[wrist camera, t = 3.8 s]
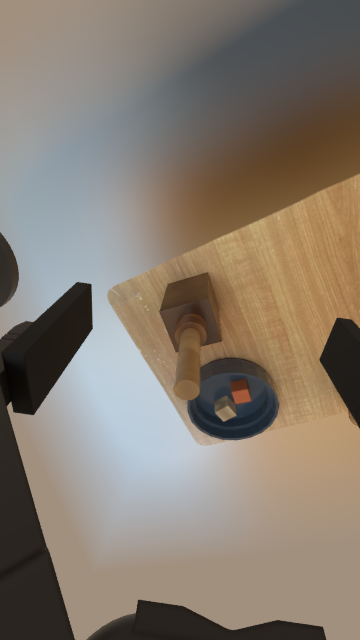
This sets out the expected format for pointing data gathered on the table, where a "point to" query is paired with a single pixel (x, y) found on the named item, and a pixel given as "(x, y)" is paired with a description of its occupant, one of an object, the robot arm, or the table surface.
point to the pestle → (189, 355)
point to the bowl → (249, 414)
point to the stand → (191, 306)
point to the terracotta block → (240, 391)
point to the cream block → (225, 408)
